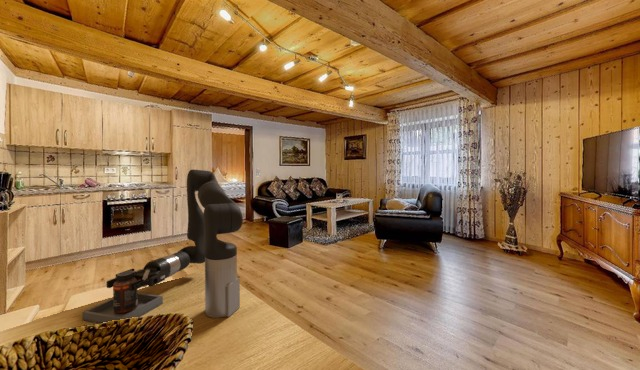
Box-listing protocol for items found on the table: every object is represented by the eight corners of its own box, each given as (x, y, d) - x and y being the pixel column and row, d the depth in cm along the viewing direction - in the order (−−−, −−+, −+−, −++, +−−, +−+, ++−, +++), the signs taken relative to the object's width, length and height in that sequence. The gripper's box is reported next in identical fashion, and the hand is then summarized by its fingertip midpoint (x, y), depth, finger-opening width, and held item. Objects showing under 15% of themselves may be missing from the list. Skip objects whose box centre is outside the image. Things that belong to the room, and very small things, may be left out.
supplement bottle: (142, 305, 83) (141, 270, 83) (126, 315, 77) (125, 277, 77) (125, 304, 84) (124, 269, 83) (108, 313, 78) (107, 276, 77)
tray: (162, 303, 85) (162, 296, 85) (121, 327, 72) (120, 318, 72) (128, 298, 89) (128, 291, 89) (82, 320, 75) (82, 312, 75)
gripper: (146, 256, 95) (99, 271, 80) (179, 259, 92) (137, 276, 76) (146, 276, 96) (100, 296, 80) (179, 280, 92) (138, 301, 77)
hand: (118, 286), depth 78 cm, fingers open, 8 cm apart
